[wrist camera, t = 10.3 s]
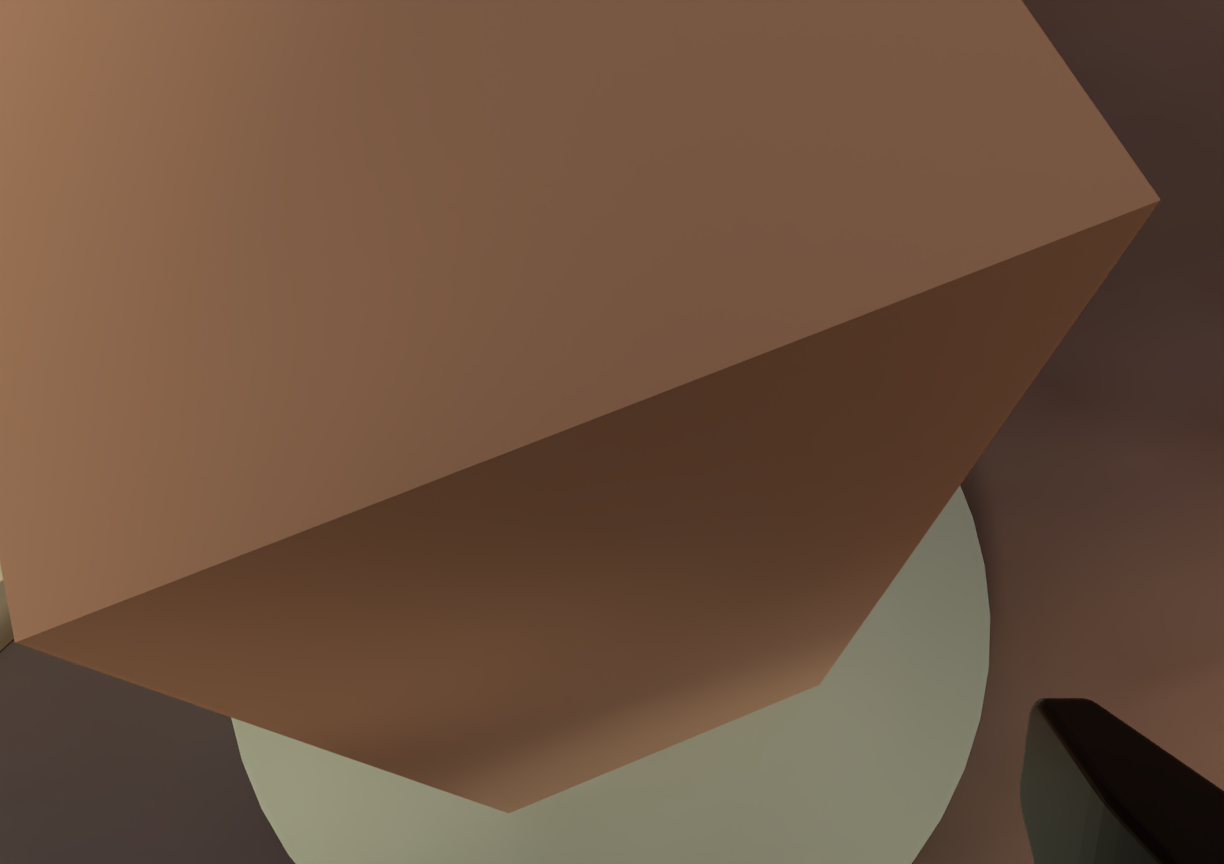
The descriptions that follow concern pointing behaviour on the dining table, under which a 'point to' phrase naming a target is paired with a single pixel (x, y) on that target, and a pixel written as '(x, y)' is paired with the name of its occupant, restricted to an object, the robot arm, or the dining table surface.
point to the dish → (707, 760)
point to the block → (515, 348)
